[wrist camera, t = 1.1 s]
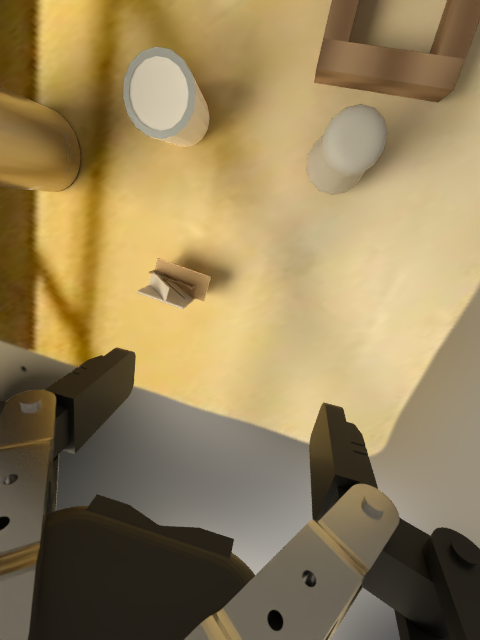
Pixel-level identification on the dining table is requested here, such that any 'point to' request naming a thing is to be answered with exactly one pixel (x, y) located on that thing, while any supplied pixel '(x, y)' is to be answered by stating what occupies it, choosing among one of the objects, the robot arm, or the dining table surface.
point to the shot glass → (165, 98)
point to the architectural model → (176, 284)
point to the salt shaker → (347, 149)
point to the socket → (397, 55)
